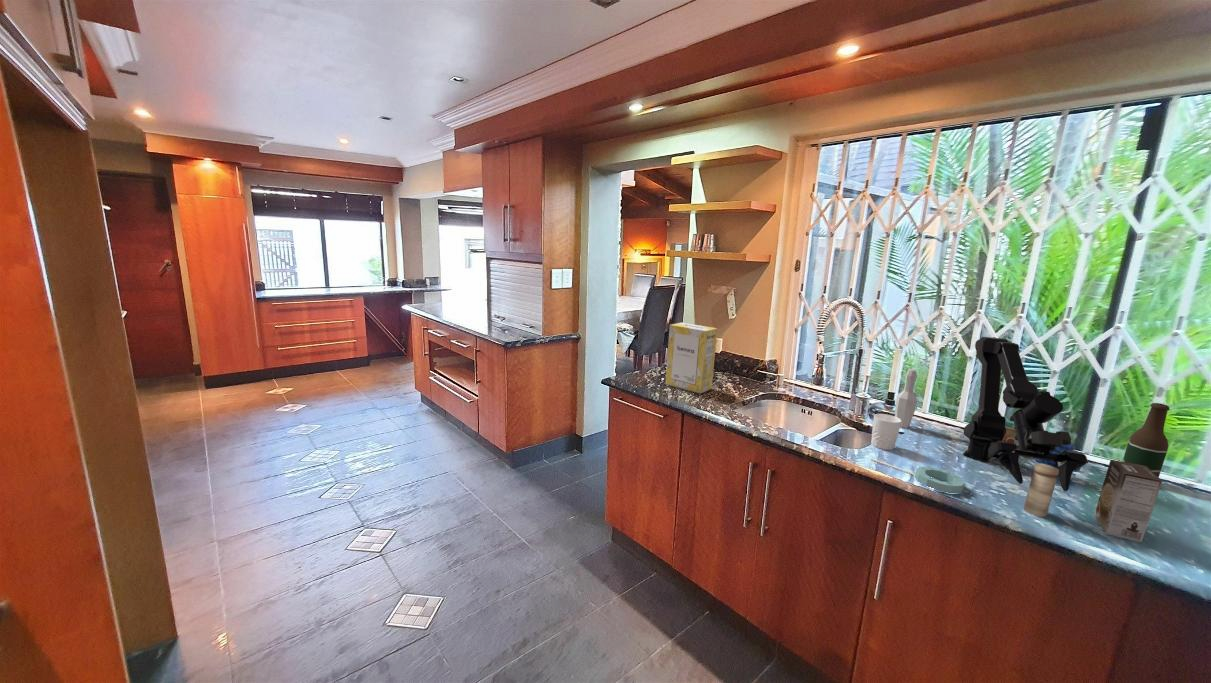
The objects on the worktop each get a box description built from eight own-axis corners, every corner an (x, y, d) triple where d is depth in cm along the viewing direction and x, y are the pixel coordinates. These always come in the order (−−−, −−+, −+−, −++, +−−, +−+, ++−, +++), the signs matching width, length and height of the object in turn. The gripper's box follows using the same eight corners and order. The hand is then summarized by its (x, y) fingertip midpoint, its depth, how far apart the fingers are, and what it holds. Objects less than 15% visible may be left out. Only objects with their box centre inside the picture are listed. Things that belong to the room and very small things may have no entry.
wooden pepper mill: (1025, 505, 121) (1036, 461, 118) (1048, 513, 118) (1060, 468, 115) (1021, 510, 118) (1033, 466, 116) (1045, 519, 115) (1057, 473, 112)
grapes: (1024, 469, 142) (1033, 433, 139) (1026, 463, 146) (1035, 428, 144) (1077, 484, 134) (1088, 446, 131) (1077, 477, 138) (1088, 440, 136)
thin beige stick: (872, 459, 144) (872, 458, 144) (915, 475, 135) (916, 473, 135) (871, 460, 143) (871, 459, 143) (914, 476, 134) (915, 474, 134)
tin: (963, 441, 162) (968, 418, 161) (965, 438, 164) (970, 416, 163) (1019, 456, 151) (1025, 432, 149) (1021, 454, 153) (1027, 430, 152)
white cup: (900, 452, 150) (905, 423, 148) (874, 449, 152) (879, 420, 150) (890, 442, 158) (895, 415, 156) (865, 439, 159) (870, 412, 157)
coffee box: (1091, 516, 117) (1109, 458, 114) (1127, 524, 114) (1146, 465, 111) (1105, 534, 110) (1124, 472, 106) (1144, 544, 106) (1164, 481, 103)
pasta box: (665, 384, 213) (669, 324, 207) (677, 379, 221) (681, 322, 215) (700, 393, 201) (706, 331, 195) (711, 388, 209) (717, 328, 203)
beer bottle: (1143, 476, 141) (1167, 402, 136) (1164, 488, 134) (1190, 410, 129) (1111, 471, 144) (1133, 398, 138) (1129, 482, 136) (1153, 406, 131)
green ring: (922, 470, 138) (924, 463, 137) (967, 486, 130) (969, 478, 129) (909, 481, 131) (911, 473, 131) (956, 498, 123) (958, 490, 122)
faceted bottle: (891, 426, 173) (902, 369, 169) (892, 421, 178) (902, 366, 174) (911, 430, 170) (922, 373, 165) (911, 425, 175) (922, 369, 170)
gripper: (1003, 411, 120) (1015, 469, 112) (1093, 423, 115) (1112, 484, 107) (983, 429, 129) (993, 483, 121) (1065, 440, 124) (1082, 498, 115)
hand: (1043, 487), depth 116 cm, fingers open, 9 cm apart
